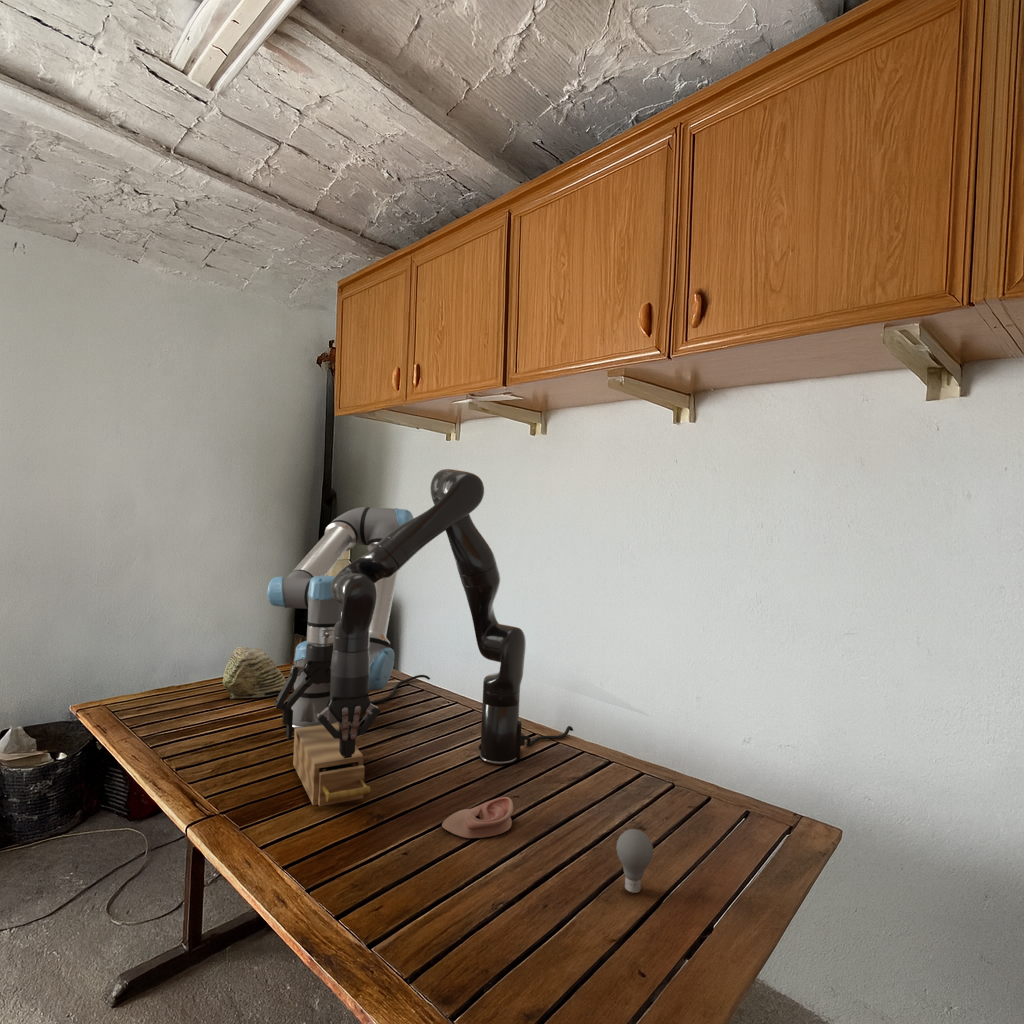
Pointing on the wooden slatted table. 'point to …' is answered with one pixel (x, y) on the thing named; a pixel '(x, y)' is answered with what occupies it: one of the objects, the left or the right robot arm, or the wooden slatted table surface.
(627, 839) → the light bulb
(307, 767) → the cabinet
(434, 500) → the right robot arm
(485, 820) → the anatomical model
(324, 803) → the drawer
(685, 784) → the wooden slatted table surface
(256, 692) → the fossil
